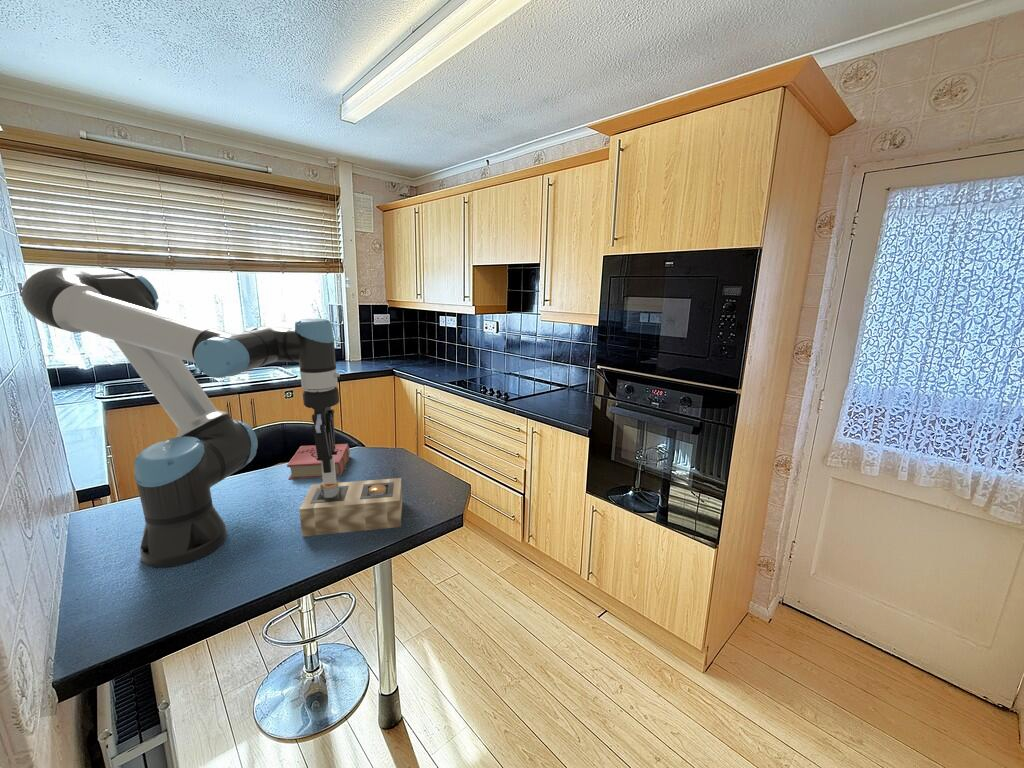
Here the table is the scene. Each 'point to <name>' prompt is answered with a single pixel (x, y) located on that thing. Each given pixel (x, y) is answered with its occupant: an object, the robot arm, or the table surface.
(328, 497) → the peg left
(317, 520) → the block
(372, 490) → the peg right
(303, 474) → the book
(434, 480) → the table surface
